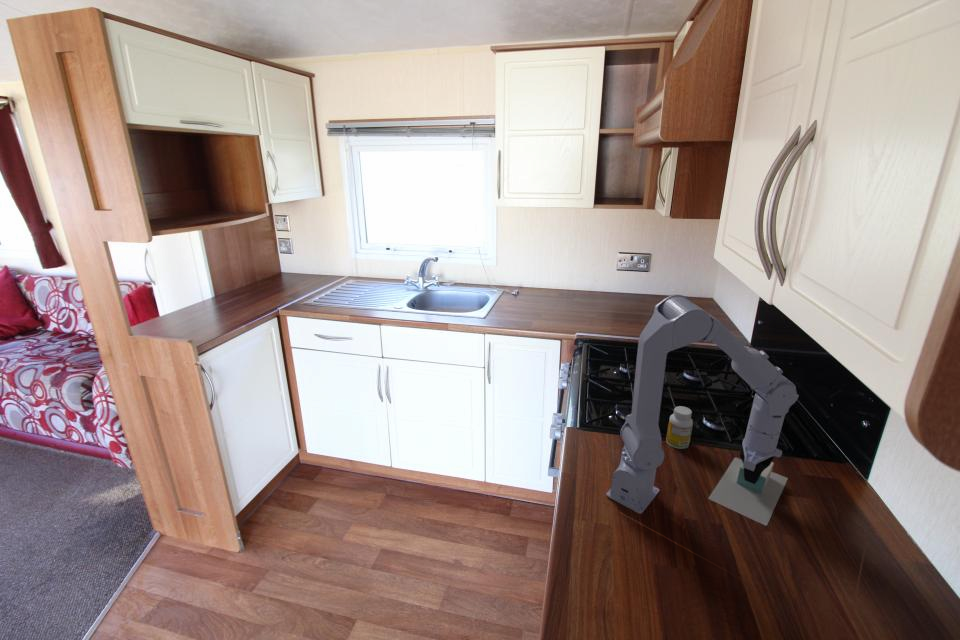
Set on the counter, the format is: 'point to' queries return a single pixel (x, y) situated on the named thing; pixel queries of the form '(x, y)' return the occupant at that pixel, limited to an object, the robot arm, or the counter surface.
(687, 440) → the supplement bottle
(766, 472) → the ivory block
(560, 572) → the counter surface
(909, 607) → the counter surface
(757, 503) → the grey mat
